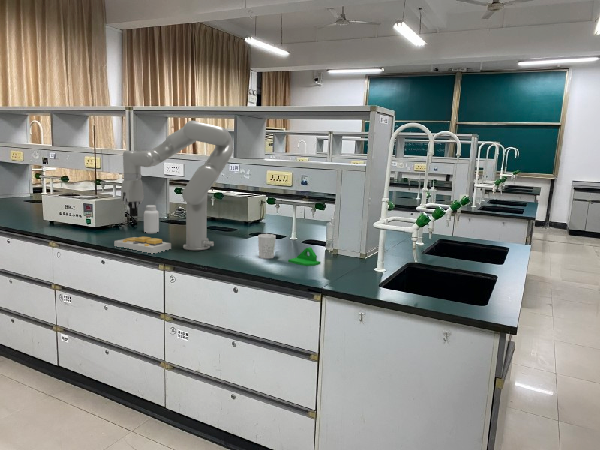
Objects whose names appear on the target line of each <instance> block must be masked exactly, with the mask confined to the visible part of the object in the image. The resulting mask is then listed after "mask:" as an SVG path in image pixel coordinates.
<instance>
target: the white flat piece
mask: <svg viewBox="0 0 600 450" xmlns="http://www.w3.org/2000/svg"><path fill="white" fill-rule="evenodd" d="M133 237H134V238H138V237H137V236H133ZM130 238H132V237H130ZM125 239H126V238H124V239H122V238H121V239H117V240H113V241H114V243H113V245H114V246H117V247H124V248H129V249H133V250H137V251H142V252H141V253H143V252H147V253H146V254H148V253H151V254H150V255H154V254H153V253H155V254H159V253H162V252H161V251H163V252H166V251H165V250H167V251H169V249H171V250H172V243H171V242H165V241H162V244H160V245H156V246H153V245H149V244H146V243H145V244H141V243H138V242H135V241H134V242H130V241H127V240H125ZM137 251H136V252H137ZM158 252H159V253H158Z"/></svg>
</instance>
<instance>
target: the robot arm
mask: <svg viewBox="0 0 600 450" xmlns="http://www.w3.org/2000/svg"><path fill="white" fill-rule="evenodd" d="M196 142H200V143H204V144H208V145H213V146H214V149H213V151H212V152H211V153H210V155H209V157H208V158H207V160H206V161H205V162H204V163H203V164H202V165H201V166H199V167H198V168H197V170H196V171H195V172H194V173H193V175H192V176H191V178H190V179H189V181H188V183H187V184H186V186H185V187H184V188H183V192H182V198H183V201H184V202H185V203H186V209H185V210H186V211H185V212H186V213H185V221H186V222H185V223H186V224H185V226H186V227H185V231H186V237H185V238H186V241H185V244H183V245H182V248H183V249H184V250H186V251H188V250H189V251H205V250H209V249H210V248H211V247H214V245H215V242H214V241H211V240H209V238H208V237H207V231H208V230H207V226H208V225H207V221H208V220H207V219H208V218H207V216H208V214H207V213H208V211H207V210H208V209H207V208H208V207H207V206H208V193H209V191H210V190H211V188H212V186H213V185H214V183H215V182H216V181H217V180H218V178H219V176H220V175H221V173H222V172H223V170H224V168H226V165H227V164H228V163H229V160H230V159H231V157H232V155H233V153H234V152H233V151H234V140H233V138H232V136H231V133H230V132H229V130H227V129H226V128H225V127H222V126H217V125H213V124H208V123H205V122H201V121H200V122H199V121H197V120H189V121H187V122H186V123H185V124H184V125H183V126H182V127H181V128H180V129H177V130H176V131H174V132H172V133H171V134H169V135H168V136H167V137H166V138H165V139H164V141H163V142H162V143H160V144H159V145H156V146H155V147H153V148H152V149H150V150H142V151H138V150H125V151H123V153H122V166H123V180H122V181H121V188H120V199H121V201H122V202H123V205H126V206H127V207H128V208H129V216H130V217H137V216H138V208H139V206H140V204H142V203H143V200H144V199H145V198H144V197H145V196H144V195H145V194H144V186H143V182H142V177H143V175H142V174H141V173H142V171H141V167H142V168H151V167H156V166H157V165H159V164H161V163H162V162H164V161H166V160H167V159H169V158H171V157H172V156H174V155H176V154H178V153H180V152H181V151H182V150H184V149H186V148H187V147H189V146H191V145H192V144H194V143H196Z"/></svg>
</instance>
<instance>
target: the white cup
mask: <svg viewBox="0 0 600 450" xmlns="http://www.w3.org/2000/svg"><path fill="white" fill-rule="evenodd" d="M257 236H258V238H257V239H258V241H257V243H258V257H259V258H260V259H268V260H269V259H273V258H274V257H275V249H276V248H275V247H276V238H277V237H276V234H272V233H261V234H258V235H257Z"/></svg>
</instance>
